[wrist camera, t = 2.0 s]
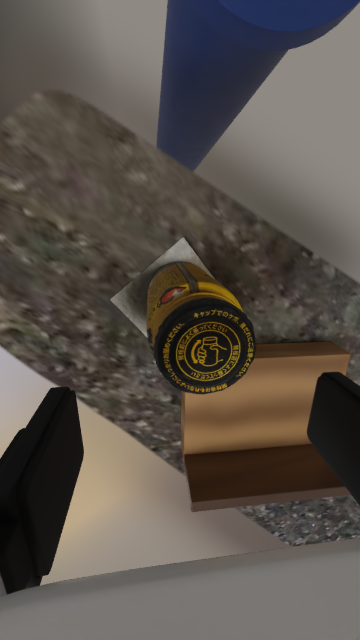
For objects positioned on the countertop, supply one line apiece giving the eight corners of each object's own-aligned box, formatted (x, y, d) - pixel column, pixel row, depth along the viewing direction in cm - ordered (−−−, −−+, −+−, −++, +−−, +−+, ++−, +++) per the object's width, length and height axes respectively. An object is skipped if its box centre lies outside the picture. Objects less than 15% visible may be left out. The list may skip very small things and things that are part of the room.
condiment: (230, 299, 25) (297, 359, 13) (162, 352, 26) (172, 449, 14) (182, 236, 22) (217, 246, 11) (110, 298, 23) (73, 364, 12)
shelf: (181, 347, 26) (195, 396, 18) (330, 341, 27) (398, 383, 20) (180, 441, 30) (191, 512, 22) (310, 430, 31) (360, 494, 24)
